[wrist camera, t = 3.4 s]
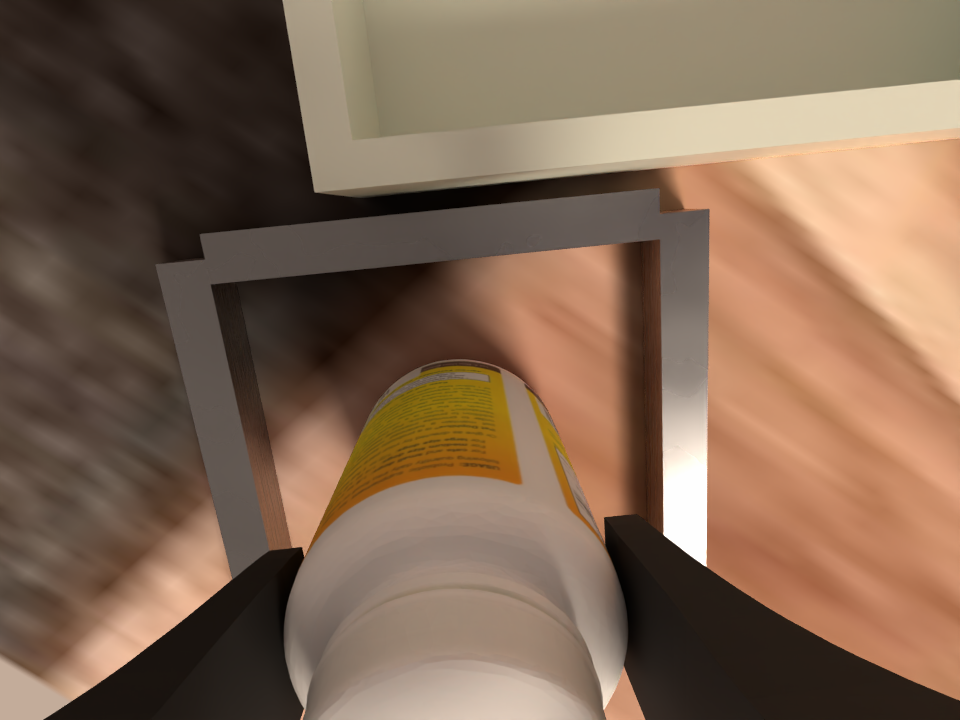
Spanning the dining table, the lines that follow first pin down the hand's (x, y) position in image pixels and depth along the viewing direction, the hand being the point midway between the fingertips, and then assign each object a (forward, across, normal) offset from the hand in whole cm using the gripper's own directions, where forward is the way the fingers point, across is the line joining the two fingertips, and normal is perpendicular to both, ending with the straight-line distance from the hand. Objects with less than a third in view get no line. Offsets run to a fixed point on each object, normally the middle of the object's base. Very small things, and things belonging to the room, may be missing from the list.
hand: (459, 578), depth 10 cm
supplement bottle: (+6, 0, 0) cm, 6 cm away
